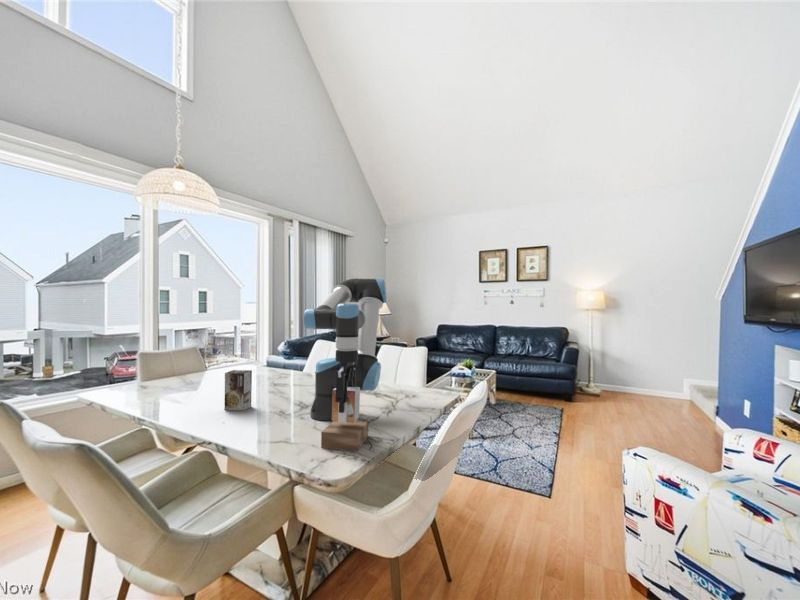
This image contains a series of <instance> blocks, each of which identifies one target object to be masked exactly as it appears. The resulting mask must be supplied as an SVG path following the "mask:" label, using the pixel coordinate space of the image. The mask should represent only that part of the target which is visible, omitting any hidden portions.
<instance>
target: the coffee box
mask: <svg viewBox="0 0 800 600" xmlns="http://www.w3.org/2000/svg"><path fill="white" fill-rule="evenodd" d="M252 373H253V371H252V370H249V369H247V370H244V369H242V370H241V369H237V370H236V369H233V370H230V371H228V372H224V411H245V410H247V409H249V408H251V407H252V388H253V387H252V380H253V378H252V376H253V375H252Z"/></svg>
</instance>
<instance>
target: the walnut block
mask: <svg viewBox="0 0 800 600" xmlns="http://www.w3.org/2000/svg"><path fill="white" fill-rule="evenodd" d="M320 434H321V436H320V439H321V440H320V445H321V446H320V448H321V449H331V450H339V451H340V450H341V451H342V450H343V451H352V452H358V451H359V449H360V448H361V446H363V444H364V442H365V440H366V439H367V438H368V437H367V436H368V435H369V421H366V420H365V421H363V420H356V422H355V423H348V422H346V423H344V422H338V421H332V422H331V423H329V424H328V425H327V426H326V427H325V428H324V429H323V430H322V431H321V433H320Z"/></svg>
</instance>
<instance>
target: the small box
mask: <svg viewBox="0 0 800 600" xmlns="http://www.w3.org/2000/svg"><path fill="white" fill-rule="evenodd" d="M360 399H361V391H360V387H347V396H346V402H347V422H348V423H355V422H356V421H358V419H359V418H360V403H361V401H360ZM335 400H336V388H335V389H333V397H332V420H331V421H332V422H333V421H338V402H335Z"/></svg>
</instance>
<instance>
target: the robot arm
mask: <svg viewBox="0 0 800 600" xmlns="http://www.w3.org/2000/svg"><path fill="white" fill-rule="evenodd" d="M387 299H388V298H387V288H386V282H385V280H384V279H382V278H376V277H375V278H349V279H345V280H344V281H341V282H339V283H337V284H336V285H335V286H334V287H333V288H332V290H331V291H330V294H329V296H327V297H326V299H324V301H322V302H321V303H320V305H318V306H317V307H316V308H307V309H306V310H305V311H304V312H303V318H302V319H303V325H304V327H305V328H306V329H309V330H335V339H334V342H335V349H336V350H335V357H329V358H325V359H321V360H318V362H317V363H316V364H315V371H314V373H315V375H314V376H315V379H314V381H315V383H314V385H315V386H314V399H313V402H312V404H311V407H310V413H309V414H310V418H312V419H313V420H316V421H332V397H333V389H335V388H336V400H335V402H338V422H344V423H346V422H347V402H346V396H347V387H360V392H362V391H363V392H366V391H367V392H370V391H371V392H372V391H375V390H376V389H377V387H378V386H379V383H380V379H381V378H380V377H381V370H382V365H381V362H379V361H378V357H377V356H376V347H377V345H376V344H377V334H378V327H379V326H378V324H379V314H380V313H379V312H380V309H382V308H383V306H384V304H385V303H387Z"/></svg>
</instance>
